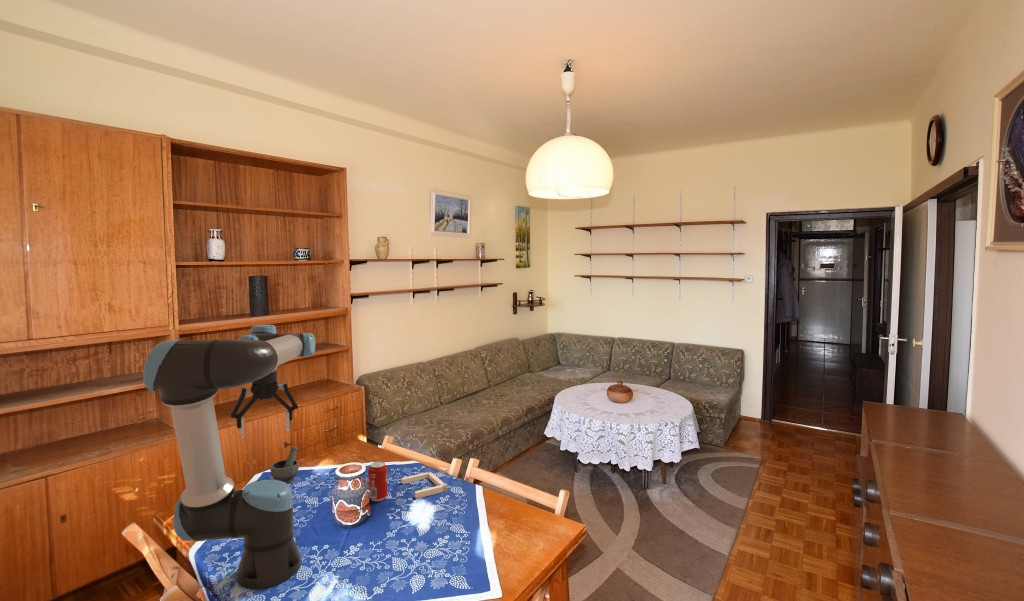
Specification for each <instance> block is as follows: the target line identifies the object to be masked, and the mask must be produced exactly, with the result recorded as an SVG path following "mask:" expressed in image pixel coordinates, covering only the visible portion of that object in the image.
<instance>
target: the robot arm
mask: <svg viewBox="0 0 1024 601" xmlns="http://www.w3.org/2000/svg"><path fill="white" fill-rule="evenodd" d="M276 329H277V328H276V326H275V325H273V324H255V325H252V326H251V328H250V332H249V333H247V334H245V335H243V336H240V337H239V338H238V339H227V338H225V339H177V340H165V341H162V342H158V344H156V345H155V346H154V347H153V348H152V349H151V350H150V352H149V353H148V355H147V357H146V360H145V362H144V365H143V366H144V367H143V373H142V375H143V376H142V380H143V384H144V387H145V389H147V390H148V391H150V392H153V393H159V397H160V400H161V402H160V403H162V404H163V405H164V406H167V407H169V408H170V411H171V415H172V416H171V417H172V422H173V426H174V432H175V437H176V443H177V447H178V453H179V457H180V459H179V460H180V463H181V468H182V473H183V478H184V483H185V489H184V490H183V491H182V493H181V495H180V497H179V498H178V500H177V501H176V503H175V506H174V509H173V517H172V525H173V529H174V532H175V533H176V535H177V537H179V539H181V540H183V541H186V542H204V541H212V540H225V539H226V540H227V539H238V538H242V539H243V547H244V548H243V552H242V555H241V557H240V561H239V564H238V567H237V570H236V579H237V580H236V581H237V584H238V585H239V586H240V587H241V588H243V589H246V590H257V591H258V590H264V589H269V588H270V589H271V588H273V587H276V586H279V585H282V584H283V583H285V582H287V581H289V579H291V578H293V577H294V576H295V575H297V573H298V571H299V570H300V568H301V565H302V557H301V553H300V551H299V548H298V546H297V543H296V541H295V538H294V499H293V491H292V487H291V486H290V485H289V484H286V483H285V482H282V481H279V480H276V479H261V480H259V481H258V480H257V481H256V480H255V481H252V482H250V483H248V484H246V485H245V486H244V487H243V489H236V487H235V482H234V480H233V479H232V478H231V477H228V476H226V470H225V464H224V458H223V452H222V451H223V450H222V444H221V438H220V434H219V426H218V421H217V414H216V410H215V403H214V398H215V396H216V395H218V393H219V391H220V390H224V389H233V388H236V387H240V386H242V387H241V388H240V394H239V396H238V398H237V400H236V402H235V404H234V406H233V408H232V409H231V411H230V413H229V415H230V418H231V419H236V427H237V429H240V438H241V440H243V439H245V418H244V417H243V416H244V415H245V414H246V413H247V412H248V411H249V409H250V408H251V407H252V406H253V404H254V403H255V402H256V401H257V400H261V401H262V400H265V399H266V400H267V399H268V400H269V399H272V398H274V399H275V400H277V402H279V403H280V404H281V405H282V406H283V407H284V408H285V409H286V410H284V411H285V412H284V413H285V414H284V418H285V419H284V422H285V424H284V426H285V428H284V429H285V431H286V432H290V421H293V412H294V410H297V409H298V408H299V406H298V404H297V402H296V401H295V399H294V398H293V396H292V394H291V393H290V391H289V388H288V384H287V383H286V382H282V383H279V384H278V371H277V368H278V366H280V365H283V364H284V363H288V362H289V361H291V360H293V359H295V358H305V357H312V356H314V353H315V352H316V339H315V336H314V334H313V333H312V332H311V333H310V332H288V333H277V330H276ZM250 383H251V386H250V387H245V386H244V385H246V384H250ZM279 389H280V390H281V391H283V392H284V394H285V396H286V397H287V399H288V401H289V402H290V404H291V406H290V405H289V404H288V403H287V402H286V401H285V400H283V398H281V396H279V395H278V394H277V393H276V392H278V390H279ZM249 393H252V396H250V398H249V400H248V401H247V402H246V403H245V404H244V405H243V406H242V408H241V405H242V403H243V401H244V400H245V397H246V395H248V394H249Z"/></svg>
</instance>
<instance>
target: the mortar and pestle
mask: <svg viewBox="0 0 1024 601" xmlns="http://www.w3.org/2000/svg"><path fill="white" fill-rule="evenodd" d="M289 450H290V451H289V452H288V456H287V458H286V459H283V460H279V461H276V462H274V463H272V464H270V466H269V467H270V469H269V470H270V475H271V477H272V478H273V480H279V481H282V482H285V483H286V484H288V485H289V484H292V483H293V482H294V481H295V477H296V476H297V474H298V472H299V468H300V460H297V459H296V456H297V453H298V450H299V448H298V447H296V446H291V447H290V449H289Z"/></svg>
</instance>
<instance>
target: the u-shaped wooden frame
mask: <svg viewBox="0 0 1024 601" xmlns="http://www.w3.org/2000/svg"><path fill="white" fill-rule="evenodd" d="M425 478H426V479H429V480H430V481H431V482H432V483H433V484H434V485H435V486H432V487H429V488H428V487H427V488H424V489H420V490H415V491H414V497H415V499H416V500H417V499H422V498H425V497H429V496H432V495H433V496H434V495H436V494H441V493H444V492H448V485H447V484H446V483H445V482H444V481H442V480H441V479H440V478H438V476H436V475H435V474H434V473H432V471H428V472H427V471H426V472H423V473H419V474H415V475H409V476H405V477H402V478H401V480H400V481H401V484H402V485H406V484H409V482H410V483H414V482H417V480H418V481H421V480H422V481H423V480H424V479H425ZM413 481H414V482H413ZM405 483H406V484H405Z"/></svg>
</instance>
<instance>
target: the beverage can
mask: <svg viewBox="0 0 1024 601" xmlns="http://www.w3.org/2000/svg"><path fill="white" fill-rule="evenodd" d="M367 474H368V475H367V480H368V482H367V483H368V484H367V486H369V490H370V495H371V499H370V500H371V501H372V502H382V501H384V500H385V499H386V498H387V496H388V466H387V465H386V462H385V461H374V462H372V463H370V464H369V466H368V469H367Z"/></svg>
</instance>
